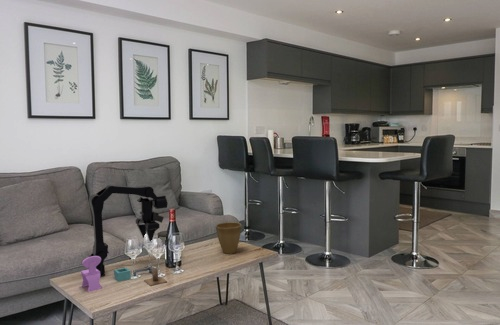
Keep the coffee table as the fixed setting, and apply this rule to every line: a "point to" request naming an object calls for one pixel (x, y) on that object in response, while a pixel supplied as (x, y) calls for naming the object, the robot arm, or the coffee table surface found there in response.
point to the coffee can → (163, 237)
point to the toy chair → (91, 273)
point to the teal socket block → (122, 274)
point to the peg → (155, 279)
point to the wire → (143, 270)
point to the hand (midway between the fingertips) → (147, 239)
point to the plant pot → (228, 236)
